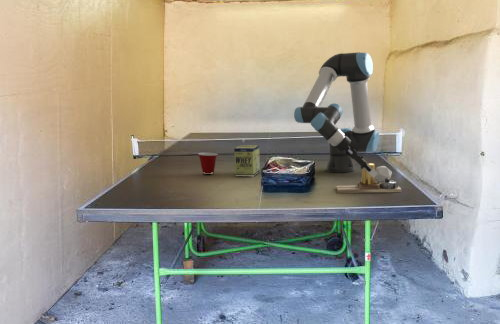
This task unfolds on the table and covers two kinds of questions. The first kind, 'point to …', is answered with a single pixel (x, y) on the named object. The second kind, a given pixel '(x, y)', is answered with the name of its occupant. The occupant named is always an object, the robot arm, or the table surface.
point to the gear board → (365, 188)
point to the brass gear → (368, 176)
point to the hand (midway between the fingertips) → (373, 173)
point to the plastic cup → (207, 161)
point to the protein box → (247, 160)
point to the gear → (388, 184)
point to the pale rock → (382, 173)
